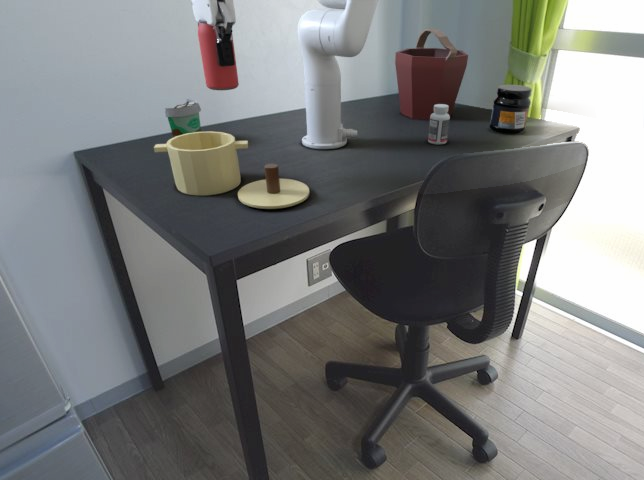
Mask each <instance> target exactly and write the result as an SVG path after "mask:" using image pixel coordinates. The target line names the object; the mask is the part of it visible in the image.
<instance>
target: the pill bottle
mask: <svg viewBox="0 0 644 480" xmlns="http://www.w3.org/2000/svg"><path fill="white" fill-rule="evenodd" d="M448 108H449V106H448V105H445V104H436V105H434V110H433V111H434V113H433V114H431V116H430V120H429V125H428V126H429V128H428V136H427V142H428V143H429V144H432V145H445V144H447V143H448V135H449V130H450V128H449V127H450V121H451V117H450V116H449V114H447V112H448Z"/></svg>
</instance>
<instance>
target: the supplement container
mask: <svg viewBox="0 0 644 480" xmlns="http://www.w3.org/2000/svg"><path fill="white" fill-rule="evenodd" d="M530 97H532V87H529V86H526V85H520V84H503V85H499V86H497V91H496V96H495V97H494V99H493V105H492V111H491V115H490V120H489V121H490V122H489V128H490V130H491V131H493V132H494V133H498V134H503V135H518V134H521V133H522V132H524V131H525V130H526V129H525V128H526V124H527V120H528V116H529V110H530V107H531V104H532V100H531V98H530Z"/></svg>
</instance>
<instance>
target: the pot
mask: <svg viewBox="0 0 644 480" xmlns="http://www.w3.org/2000/svg"><path fill="white" fill-rule="evenodd" d="M240 149H241V150H242V149H249V140H236V137H235V136H234V135H232V134H231V133H227V132H223V131H211V130H210V131H208V130H207V131H201V132H194V133H187V134H183V135H179V136H176V137H174V138H173V137H172V138H169V139H168V140H167V141H166V143H156V144H154V146H153V150H154V153H167V154H168V158H169V162H170V166H171V171H172V175H173V180H174V184H175V186H176V189H177V190H178V191H179V192H181V193H182V194H185V195H190V196H200V197H201V196H212V195H219V194H224V193H227V192H230V191H232V190H234V189H236V188H238V187H239V186H240V185H241V183H242V179H241V178H242V177H241V171H240V162H239V156H238V150H240Z"/></svg>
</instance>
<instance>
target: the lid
mask: <svg viewBox="0 0 644 480" xmlns="http://www.w3.org/2000/svg"><path fill="white" fill-rule="evenodd" d="M263 167H264V173H265V174H264V175H265V179H259V180H256V181H252V182H250V183H247V184H245V185H243V186H241V188H239V190H238V191H237V198H238V201H240V203H241V204H243V205H245V206H247V207H251V208H256V209H261V210H262V209H265V210H277V209H285V208H289V207H290V208H291V207H293V206H296V205H299V204H301V203H303V202H304V201H306V200H307V199H308V198H309V196H310V187H309V186H308V185H307V184H306V183H304V182H302V181H299V180H295V179H291V178H280V171H279V165H278V164H276V163H267V164H265V165H264V166H263Z"/></svg>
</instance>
